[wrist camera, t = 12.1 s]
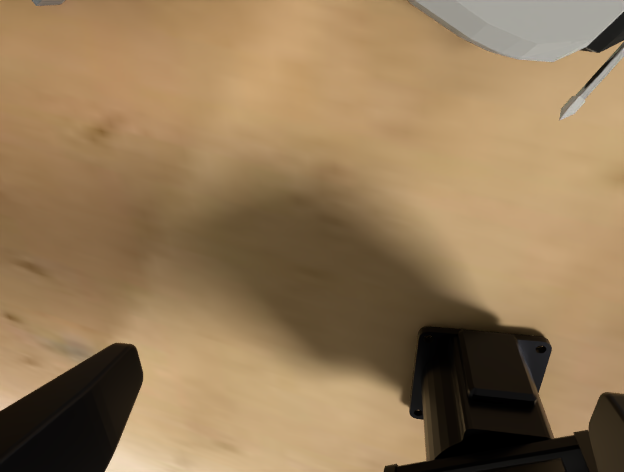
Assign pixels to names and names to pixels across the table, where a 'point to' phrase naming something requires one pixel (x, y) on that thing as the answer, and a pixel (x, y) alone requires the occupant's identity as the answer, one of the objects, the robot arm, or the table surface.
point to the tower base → (47, 2)
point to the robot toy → (536, 30)
